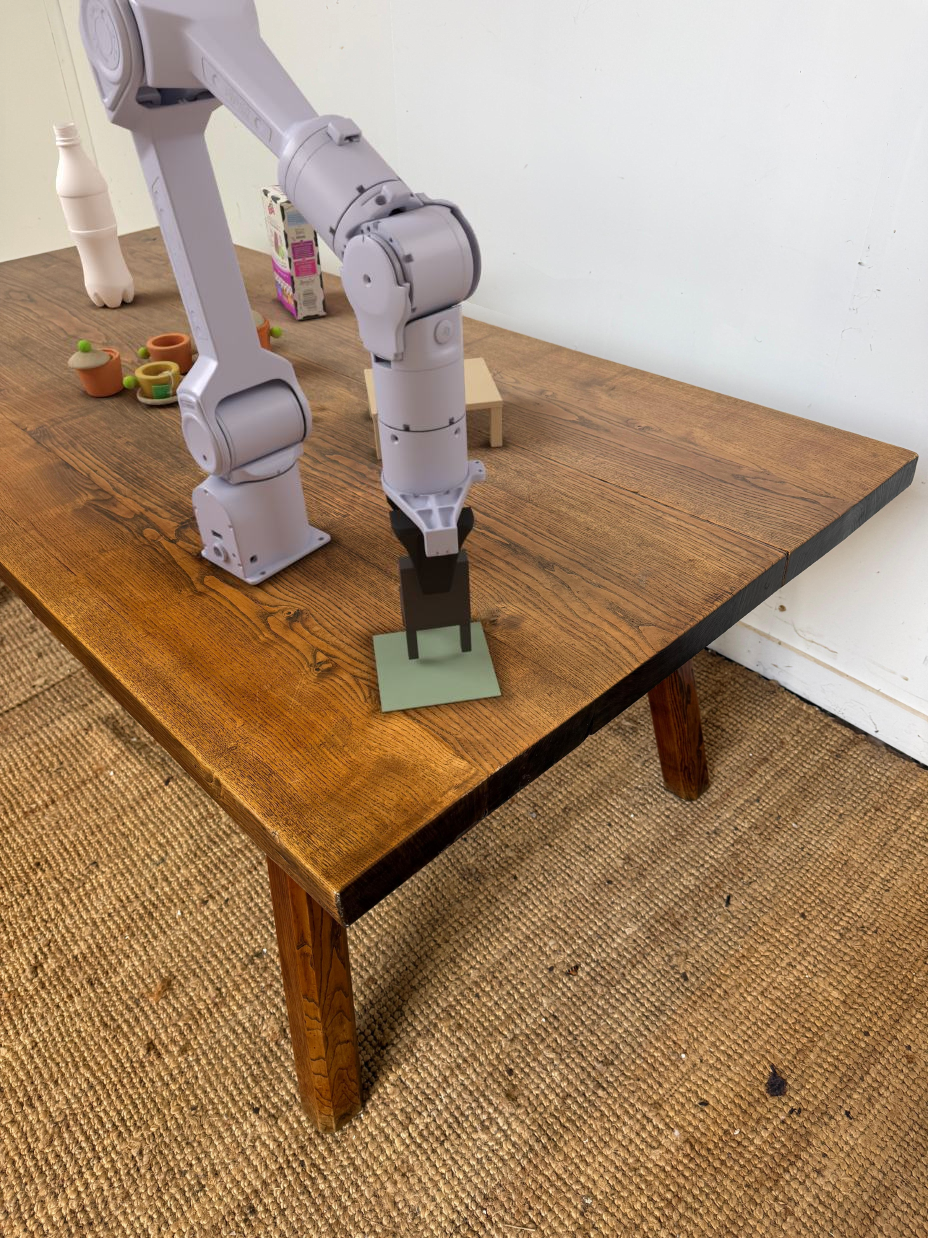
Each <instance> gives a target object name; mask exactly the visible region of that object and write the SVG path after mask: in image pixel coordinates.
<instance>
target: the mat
mask: <svg viewBox="0 0 928 1238" xmlns="http://www.w3.org/2000/svg"><path fill="white" fill-rule="evenodd" d="M470 624H471V646H472V651H471V652H462V651H461V647H460V629H459V625H458V626H451V627H443V628H436V629H428V630H420V631H417V642H418V653H419V659H413V660H409V657H408V650H407V640H406V631H405V630H404V631H398V632H389V633H384V634H376V635H372V641H373V649H374V657H375V666H376V673H377V682H378V689H379V696H380V698H379V699H380V705H381V713H383V714H384V713H389V712H396V711H397V712H398V711H403V710H410V709H411V710H412V709H418V708H425V707H431V706H439V705H446V704H454V703H461V702H469V701H475V700H481V699H482V700H483V699H489V698H496V697H497V698H498V697H502V693H501V689H500V685H499V682H498V678H497V675H496V671H495V668H494V664H493V660H492V657H491V655H490V650H489V646H488V643H487V640H486V635H485V633H484V629H483V625H482V622H481V621H474V622H471V623H470Z"/></svg>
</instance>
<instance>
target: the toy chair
mask: <svg viewBox="0 0 928 1238" xmlns="http://www.w3.org/2000/svg"><path fill="white" fill-rule="evenodd" d="M397 565H398V573H399V583H400V585H399V586H398V595H399V602H400V611H401V620H402V621H401V622H402V627H404V629H405V630H404V632H405V631H406V640H407V650H408V657H409V660H413V659H419V653H418V642H417V631H420V630H428V629H436V628H443V627H451V626H458V625H459V629H460V647H461V651H462V652H471V651H472V646H471V624H470V623H472V622H471V619H472V609H471V585H470V583H471V582H470V561H469V558H468V554H467V551H466V549H465V548H461V550H460V552H459V556H458V560H457V564H456V570H455V575H454V580H453V584H452V587H451V590H450V592H447V593H439V594H431V595H423V594H422V592H421V590H420V587H419V585H418V582H417V579H416V575H415V572H414V568H413V565H412V562H411V559H410V557H409V555H405V556H398V557H397Z"/></svg>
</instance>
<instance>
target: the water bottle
mask: <svg viewBox="0 0 928 1238" xmlns="http://www.w3.org/2000/svg"><path fill="white" fill-rule="evenodd" d="M52 127H53V128H52V129H53V132H54V135H55V140H56V142H55V145H56V146H57V147H58V152H59V160H58V166H57V171H56V176H55V190H56V195H57V196H58V198H59V201H60V205H61V209H62V211H63V215H64V218H65V222H66V224H67V227H68V228H67V229H68V232H69V234H70V236H71V237H72V239H73V241H74V244H75V246H76V249H77V252H78V254H79V258H80V261H81V266H82V270H83V277H84V278H83V279H84V288H85V289H86V293H87V295H88V297H89V298H90V300H91V301H92V302H93V303H94V305H96V306H97V307H100V308H101V307H102V308H103V307H104V306H105V305H106V306H107V307H108V308H112V309H115V308H119V307H120V306H121V303H122V301H123V302H125V303H127V304H129V303H132V302H133V300H134V296H135V284H134V280H133V276H132V274H131V272H130V270H129V268H128V266H127V264H126V261H125V258H124V255H123V253H122V249H121V245H120V241H119V235H118V233H119V232H118V222H117V220H116V216H115V212H114V208H113V205H112V201H111V197H110V194H109V187H108V183H107V181H106V179H105V177H104V175H103V174H102V173H101V172H100V171H99V169H98V167H97V166H96V165H95V164H94V162H93V161H92V160H91V159H90V158H89V156H88V155H87V154H86V152H85V149H84V148H83V146H82V143H83V140H82V139H81V138H80V135H79V134H78V129H77V126H76V124H75V123H74V122H65V123H63V122H62V123H56V124H53V125H52Z"/></svg>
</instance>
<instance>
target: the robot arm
mask: <svg viewBox="0 0 928 1238" xmlns="http://www.w3.org/2000/svg"><path fill="white" fill-rule="evenodd" d="M78 3H79V5H78V6H79V7H78V9H79V11H78V30H79V36H80V38H81V39H80V40H81V42H82V45H83V47H84V51H85V54H86V58H87V61H88V64H89V66H90V70H91V73H92V76H93V80H94V83H95V86H96V88H97V92H98V96H99V98H100V101H101V103H102V104H103V107H104V110H105V113H106V116H107V119H108V121H109V122H110V124H112V125H116V126H117V127H120V128H123V129H125V130H128V131H129V132H130V135H131V139H132V141H133V145H134V149H135V151H136V155H137V158H138V161H139V164H140V165H139V166H140V168H141V171H142V174H143V178H144V182H145V184H146V187H147V190H148V194H149V196H150V200H151V203H152V206H153V210H154V214H155V216H156V219H157V222H158V225H159V230H160V232H161V236H162V239H163V242H164V245H165V249H166V252H167V256H168V259H169V263H170V266H171V269H172V271H173V275H174V278H175V281H176V284H177V287H178V291H179V294H180V298H181V301H182V304H183V307H184V311H185V313H186V317H187V320H188V324H189V327H190V329H191V333H192V337H193V340H194V343H195V347H197V350H198V353H197V354H198V356H197V357H198V358H197V359H196V361H195V362H194V364H193V366H192V368H191V369H190V370H189V371H188V372H187V374H186V375H185V376H186V377H185V378H184V379H183V381H182V382H181V383H180V385H179V387H178V388H177V391H176V392H177V395H178V401H177V402H178V406H179V410H180V414H181V415H180V417H181V430H182V435H183V438H184V441H185V444H186V446H187V449H188V451H189V453H190V454H191V456H192V458H193V459H194V461H195V462H196V463H197V465H198V466H199V467H200V468H201V469H202V470H203V471H204V472H206V473H207V474H209V475H208V477H207V478H206V479H205V480H204V481H202V482H201V483H200V484H199V485H197V486H195V488H194V489H193V490H192V492H191V493H192V494H191V503H192V508H193V512H194V516H195V519H196V523H197V526H198V530H199V535H200V538H201V541H202V546H203V549H202V550H201V556H202V557H203V558H204V559H206V560H208V561H210V562H211V563H213V564H215V565H217V567H220V568H222V569H223V570H225V571H227V572H229V573H230V574H232V575H234V576H235V577H237V578H238V579H240V580H242V581H244V582H245V583H247V584H249V585H251V586H255V585H258V584H260V583H262V582H263V581H265V580H267V579H268V578H270V577H272V576H273V575H275V574H277V573H278V572H280V571H282V570H283V569H285V568H287V567H289V566H291V565H292V564H293V563H295V562H297V561H298V560H300V559H302V558H304V557H305V556H307V555H309V554H311V553H313V552H314V551H315V550H317V549H319V548H321V547H322V546H324V545H325V544H327V543H329V542H331V535H330V534H329V533H326V532H324V531H322V530H321V529H318V528H317V527H315V526H313V525H311V524H310V523H309V517H308V512H307V507H306V500H305V495H304V489H303V483H302V477H301V471H300V466H299V461H298V458H300V457H301V456H304V454H305V453H304V447H303V443H306V442H307V441H308V440H309V438H310V436H311V434H312V429H313V414H312V409H311V406H310V403H309V401H308V399H307V397H306V395H305V393H304V391H303V390H302V388H301V386H300V384H299V382H298V379H297V376H296V373H295V370H294V367H293V363H291V362H290V361H289V360H287V358H284V357H283V356H281V355H279V354H278V353H276V352H272V351H268V350H266V349H264V348H261V345H260V341H259V338H258V334H257V330H256V326H255V323H254V319H253V315H252V312H251V309H252V308H251V305H250V301H249V298H248V293H247V290H246V286H245V283H244V279H243V275H242V270H241V268H240V264H239V260H238V256H237V253H236V249H235V244H234V241H233V237H232V234H231V231H230V227H229V222H228V220H227V216H226V212H225V208H224V205H223V200H222V197H221V194H220V190H219V186H218V182H217V179H216V175H215V172H214V168H213V164H212V159H211V157H210V152H209V149H208V145H207V141H206V137H205V132H206V129H207V127H208V124H209V121H210V119H211V117H212V114H213V112H215V111H217V109H219V108H221V107H222V106H224V107H225V108H226V109H227V110H229V111H230V113H231V114H232V115H234V117H235V118H236V119H237V120H238V121H239V122H241V123H242V124H243V125H244V126H245V128H246V129H248V130H249V131H250V132H251V133H252V134H253V135H254V137H256V139H258V140H259V141H260V142H261V143H262V144H263V145H264V146H265V147H266V148H267V149H268V150H269V151H270V152H271V153H272V154H273V155H274V156H275V157H276V158H277V159H278V163H277V171H276V172H277V182H278V185H279V186H280V189H281V190H282V192H283V194H284V195H285V196H286V197H287V198H288V200H289V201H290V202H291V203H292V204H293V205H294V207H295V208H296V209H297V210H298V211H299V212H300V214H301V215H302V216H303V217H304V218H305V219H306V221H307V222H308V223H309V224H310V225H311V227H312V228H313V229H314V230H315V231H316V232H317V236H319V237H320V238H321V240H322V241H323V242H324V243H325V245H326V246H327V247H328V248H329V249H330V251H332V253H333V254H334V255H335V256H336V257H337V259H338V261H340V262H341V263H342V266H339V268H338V270H339V275H340V276H339V277H340V280H341V285H342V287H343V290H344V294H345V295H346V298H347V300H348V302H349V304H350V306H351V308H352V310H353V312H354V315H355V317H356V320H357V326H358V333H359V340H361V341H362V342H363V344H362V345H363V348H364V349H365V350H366V351H368V352H369V353H370V360H371V369H372V370H373V380H374V389H375V398H376V407H377V418H378V427H379V435H380V444H381V454H382V459H381V462H382V471H381V474H380V482H381V488H382V490H383V492H384V494H385V499H386V502H387V504H388V505H389V506H390V508H391V509H392V510H389V511H388V515H389V520H390V527H391V531H392V533H393V534H394V536H395V538H396V540H397V541H399V542H400V544H401V545H402V546H403V548H404V550H405V551H406V553H407V556H409V557H410V559H411V562H412V565H413V568H414V572H415V575H416V579H417V582H418V585H419V587H420V590H421V592H422V594H423V595H431V594H439V593H447V592H450V590H451V587H452V584H453V580H454V575H455V570H456V564H457V560H458V556H459V552H460V550H461V549H462V547H463V545H464V543H465V541H466V539H467V538H468V536H469V534H470V533H471V532H472V531H473V528H474V524H475V515H474V512H473V509H472V507H471V506H465V507H464V505H465V502H466V498H467V496H468V493H469V490H470V487H471V486H472V485H473V484H478V483H484V482H485V481H486V479H487V470H486V467H485V465H484V462H483V461H482V460H479V459H469V458H468V457H469V455H468V435H467V433H468V432H467V411H466V402H465V377H464V359H465V356H464V355H465V354H464V333H463V332H464V331H463V329H464V327H463V305H462V304H461V303H462V302H465V301H467V300H468V299H470V298H471V297H472V296H473V295H474V293H476V290H478V289H477V288H478V287H479V284H480V280H481V275H482V254H481V249H480V245H479V240H478V238H477V235H476V233H475V230H474V229H473V227H472V225H471V223H470V222H469V221H468V219H467V218H466V216H465V215H464V213H463V212H462V209H461V208H460V206H459V205H458V204H456V203H454V202H452V201H451V200H448V199H445V198H436V199H433V198H430V197H428V195H427V194H426V193H425V192H416V193H415V192H414V191H413V190H412V189H411V188H410V187H409V186H408V185H407V184H406V183H405V182H404V180H403V179H402V178H401V177H400V176H399V175H398V173H397V172H396V171H395V170H394V169H393V168H392V167H391V166H390V164H389V163H388V162H387V161H386V160H385V159H384V158H383V157H382V155H381V154H380V153H379V152H378V151H377V150H376V149H375V148H374V147H373V145H372V144H371V143H370V142H369V141H368V140H367V139H366V138H365V137H364V135H363V131H362V129H361V128H360V127H359V126H358V125H357V124H356V123H355V122H354V120H353V119H352V118H350V117H347V118H346V117H344V116H342V115H339V114H323V115H319V114H318V112H317V111H316V109H315V108H314V107H313V106H312V104H311V103H310V101H309V100H308V98H307V97H306V95H304V93H303V92H302V91H301V89H300V88H299V86H298V85H297V83H296V82H295V81H294V80H293V78H292V77H291V76H290V74H289V73H288V71H287V70H286V69H285V68H284V66H283V65H282V64H281V62H280V61H279V60H278V58H277V56H276V55H275V54H274V52H273V51H272V50H271V49H270V47H269V46H268V44H267V43H266V42H265V41H264V39H263V38H262V37H261V29H260V22H259V17H258V12H257V7H256V4H255V0H79V1H78Z"/></svg>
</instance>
